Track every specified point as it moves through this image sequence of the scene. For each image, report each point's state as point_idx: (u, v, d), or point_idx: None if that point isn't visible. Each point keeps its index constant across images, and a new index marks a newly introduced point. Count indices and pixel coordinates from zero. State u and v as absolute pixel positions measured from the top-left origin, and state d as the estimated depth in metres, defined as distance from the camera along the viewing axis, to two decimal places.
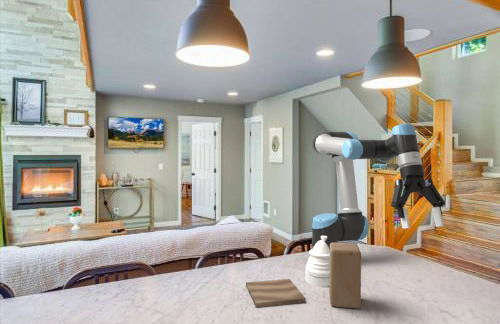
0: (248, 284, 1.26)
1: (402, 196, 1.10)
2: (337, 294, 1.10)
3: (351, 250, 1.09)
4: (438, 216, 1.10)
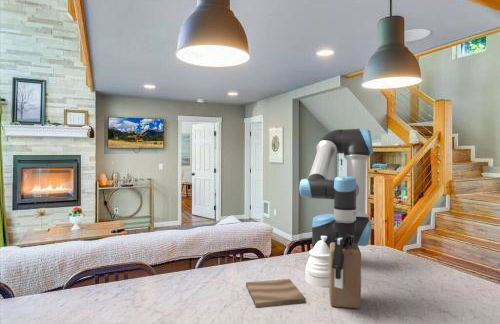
0: (248, 284, 1.26)
1: None
2: (337, 294, 1.10)
3: (351, 250, 1.09)
4: None
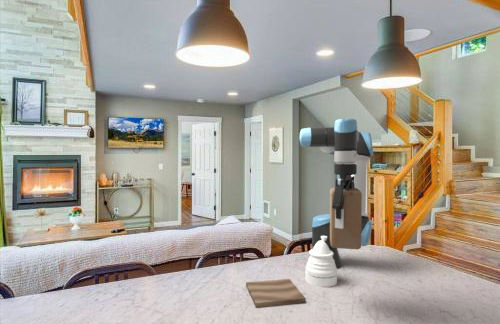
0: (248, 284, 1.26)
1: None
2: (338, 235, 1.09)
3: (352, 191, 1.08)
4: None
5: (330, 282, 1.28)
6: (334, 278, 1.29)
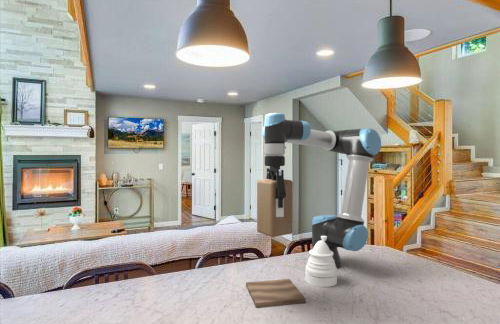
0: (248, 284, 1.26)
1: None
2: (277, 224, 1.14)
3: (286, 180, 1.17)
4: None
5: (330, 282, 1.28)
6: (334, 278, 1.29)
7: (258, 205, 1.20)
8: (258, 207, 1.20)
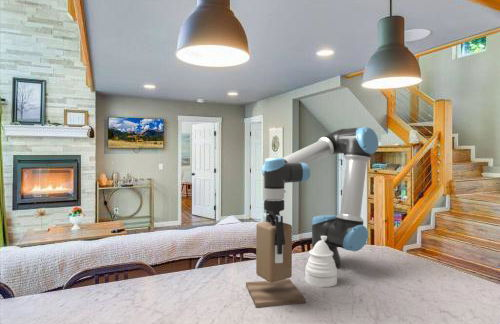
0: (248, 284, 1.26)
1: None
2: (276, 269, 1.15)
3: (285, 225, 1.17)
4: None
5: (330, 282, 1.28)
6: (334, 278, 1.29)
7: (257, 249, 1.20)
8: (257, 251, 1.20)
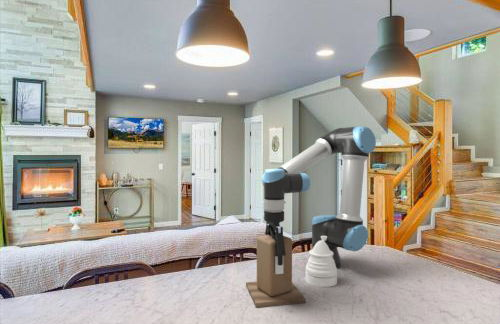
0: (248, 284, 1.26)
1: None
2: (276, 283, 1.15)
3: (285, 239, 1.17)
4: None
5: (330, 282, 1.28)
6: (334, 278, 1.29)
7: (258, 262, 1.21)
8: (258, 264, 1.21)
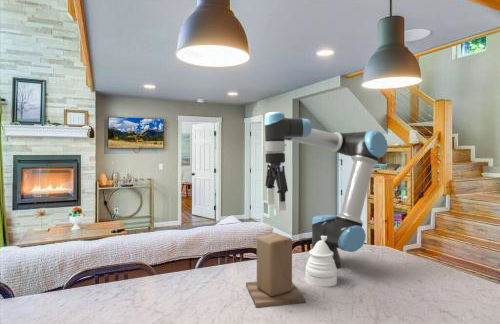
0: (248, 284, 1.26)
1: None
2: (276, 283, 1.15)
3: (285, 239, 1.17)
4: (272, 196, 1.32)
5: (330, 282, 1.28)
6: (334, 278, 1.29)
7: (258, 262, 1.21)
8: (258, 264, 1.21)
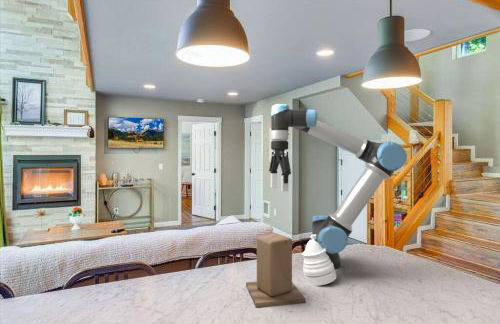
0: (248, 284, 1.26)
1: None
2: (276, 283, 1.15)
3: (285, 239, 1.17)
4: (275, 180, 1.47)
5: (328, 279, 1.28)
6: (331, 274, 1.29)
7: (258, 262, 1.21)
8: (258, 264, 1.21)
